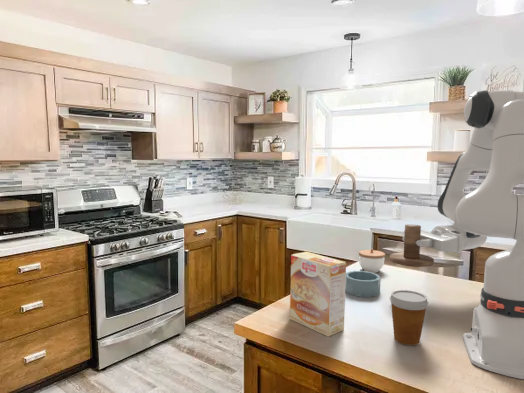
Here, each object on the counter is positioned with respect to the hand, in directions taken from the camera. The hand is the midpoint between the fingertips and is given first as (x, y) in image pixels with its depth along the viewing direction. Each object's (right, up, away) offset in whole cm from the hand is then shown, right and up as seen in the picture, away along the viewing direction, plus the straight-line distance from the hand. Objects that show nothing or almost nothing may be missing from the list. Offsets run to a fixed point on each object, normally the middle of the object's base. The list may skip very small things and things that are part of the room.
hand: (409, 240), depth 130 cm
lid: (+1, -7, +1) cm, 7 cm away
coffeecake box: (-35, -22, -20) cm, 45 cm away
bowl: (-14, -19, +8) cm, 25 cm away
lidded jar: (-4, -17, +34) cm, 38 cm away
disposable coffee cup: (-12, -23, -29) cm, 39 cm away
